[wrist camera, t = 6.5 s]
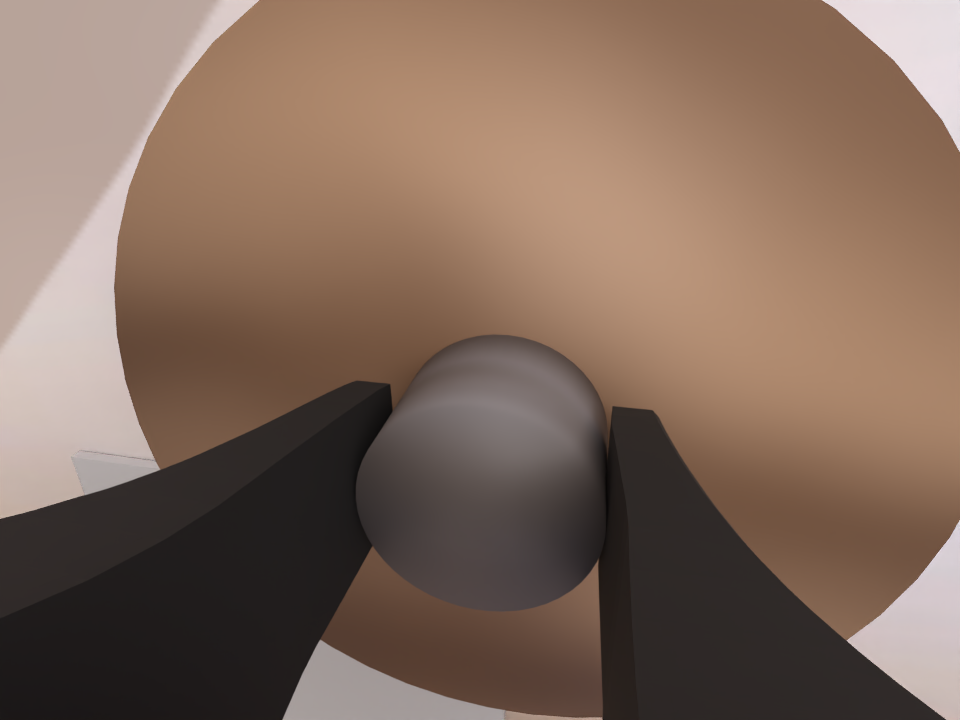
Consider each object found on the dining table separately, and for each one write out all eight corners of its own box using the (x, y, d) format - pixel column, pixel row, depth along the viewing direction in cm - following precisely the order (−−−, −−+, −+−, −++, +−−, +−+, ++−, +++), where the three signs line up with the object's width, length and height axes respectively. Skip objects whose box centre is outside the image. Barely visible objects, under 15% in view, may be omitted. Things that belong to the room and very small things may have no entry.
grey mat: (504, 805, 26) (502, 815, 26) (177, 727, 30) (172, 735, 29) (507, 509, 19) (505, 518, 19) (79, 450, 23) (70, 456, 22)
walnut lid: (831, 751, 13) (885, 920, 11) (206, 627, 16) (124, 740, 13) (1203, -85, 7) (1574, -183, 4) (43, -77, 9) (-186, -134, 7)
